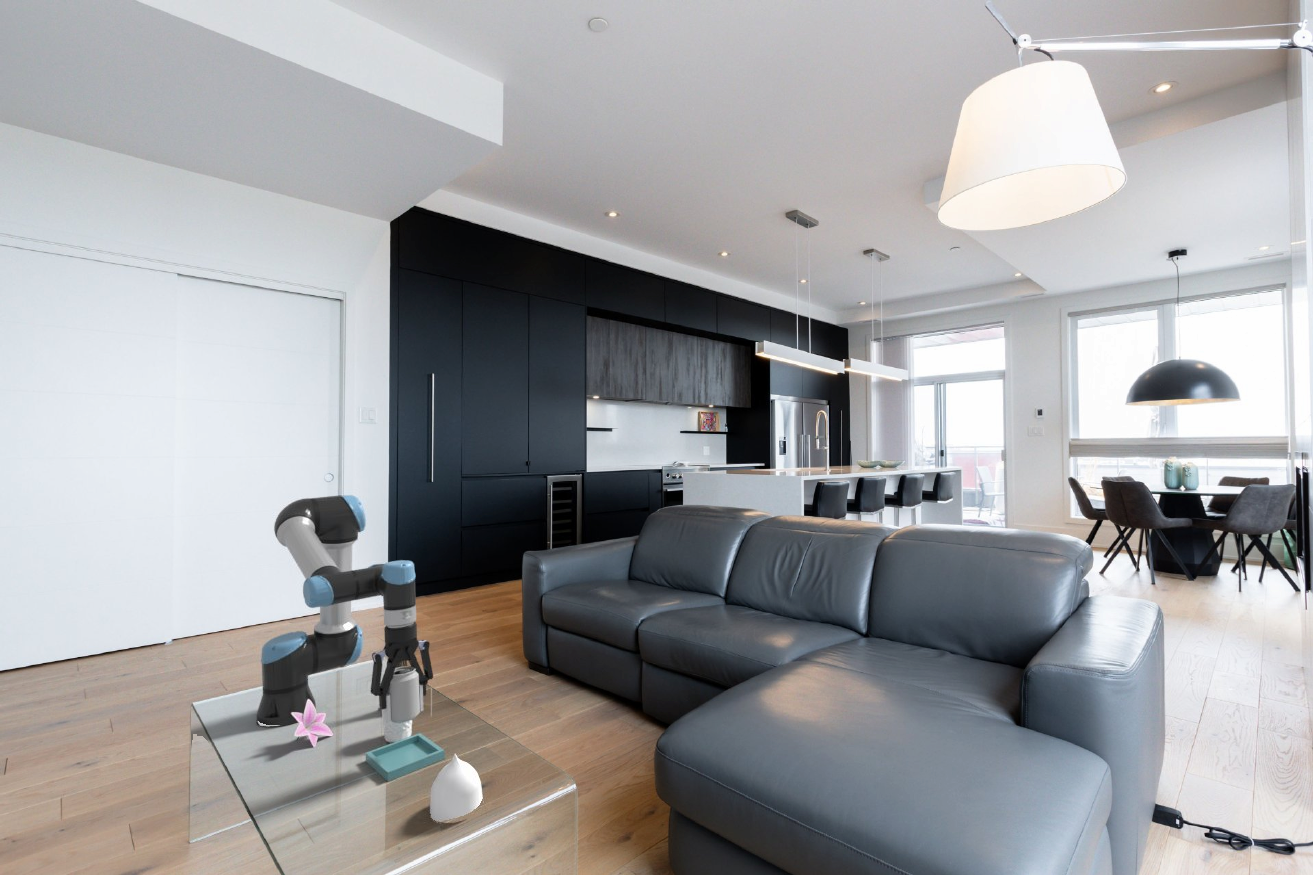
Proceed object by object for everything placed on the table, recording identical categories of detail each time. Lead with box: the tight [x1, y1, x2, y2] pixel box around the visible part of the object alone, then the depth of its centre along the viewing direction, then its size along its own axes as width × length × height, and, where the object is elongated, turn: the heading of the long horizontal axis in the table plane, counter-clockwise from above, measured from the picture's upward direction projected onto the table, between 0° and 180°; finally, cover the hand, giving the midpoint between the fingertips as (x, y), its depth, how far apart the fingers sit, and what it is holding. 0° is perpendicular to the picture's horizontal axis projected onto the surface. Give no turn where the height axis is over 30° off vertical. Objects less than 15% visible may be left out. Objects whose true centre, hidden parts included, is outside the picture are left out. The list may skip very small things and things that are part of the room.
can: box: [387, 665, 421, 723], centre depth 157 cm, size 8×8×12 cm
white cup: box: [381, 710, 413, 743], centre depth 170 cm, size 8×8×10 cm
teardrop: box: [429, 753, 484, 822], centre depth 135 cm, size 11×11×12 cm
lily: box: [291, 699, 334, 748], centre depth 169 cm, size 12×12×10 cm
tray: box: [365, 732, 445, 782], centre depth 157 cm, size 14×14×2 cm
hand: (403, 715), depth 157 cm, fingers closed on can, 7 cm apart
